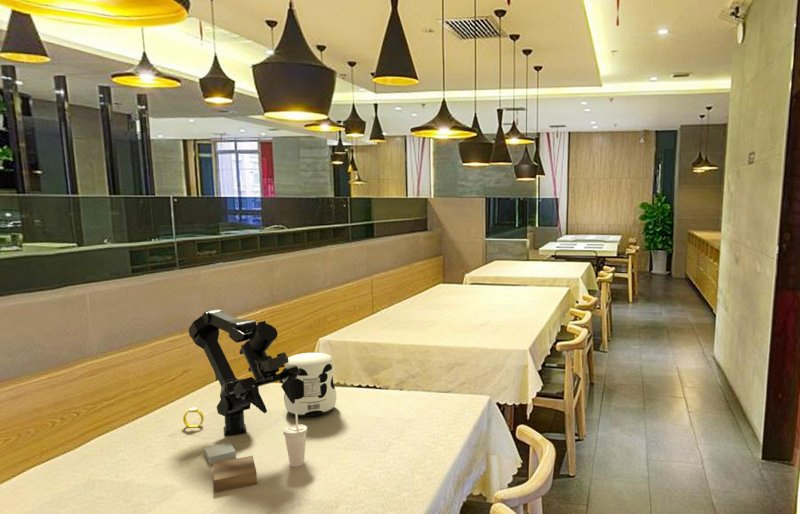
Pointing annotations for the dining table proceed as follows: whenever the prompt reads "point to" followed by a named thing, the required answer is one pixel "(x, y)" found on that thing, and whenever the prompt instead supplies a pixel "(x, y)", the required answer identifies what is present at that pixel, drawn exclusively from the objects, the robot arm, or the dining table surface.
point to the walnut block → (234, 473)
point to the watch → (193, 411)
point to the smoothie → (295, 442)
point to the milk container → (312, 385)
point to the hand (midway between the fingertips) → (280, 407)
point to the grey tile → (220, 452)
